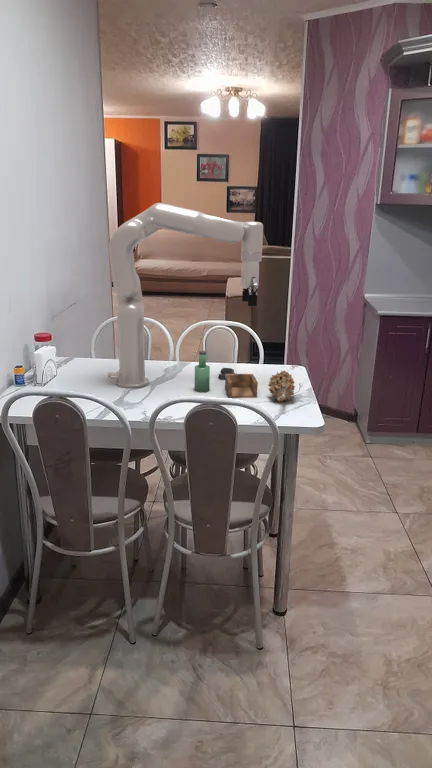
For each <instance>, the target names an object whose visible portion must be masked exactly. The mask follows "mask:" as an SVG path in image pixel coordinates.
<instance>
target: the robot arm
mask: <svg viewBox="0 0 432 768" xmlns="http://www.w3.org/2000/svg"><path fill="white" fill-rule="evenodd" d="M161 229H163V230H166V231H171V232H176V233H182V234H185V235H190V236H194V237H200V238H201V237H202V238H207V239H210V240H215V241H220V242H224V243H228V244H237V243H239V242H241V250H240V251H241V253H240V261H241V273H240V286H241V287H242V294H241V295H242V296H241V297H242V299H241V301H242V302H247V306H249V307H257V306H258V288H259V283H260V281H259V280H260V262H262V259H263V258H262V257H263V241H264V240H263V239H264V238H263V237H264V236H263V235H264V224H263V223H262V222H260V221H245V222H244V221H236V220H231V219H227V218H222V217H218V216H215V215H211V214H206V213H204V212H202V211H198V210H196V209H190V208H186V207H182V206H176V205H174V204H173V205H172V204H167V203H164V202H157V203H156V202H155V203H154V204H152V205H150V206H149V207H148V208H147V209H145V210H144V211H142V212H141V213H139V214H136V216H134V217H132V218H130V219H128V220H127V221H125V222H124V223H122V224H121V225H120V226H118V227H117V228H116V229H115V230H114V232H113V233H112V235H111V237H110V240H109V242H108V243H109V245H108V254H109V261H110V269H111V276H112V285H113V289H114V291H115V293H116V299H117V303H118V309H117V313H116V314H117V315H116V323H117V336H118V338H117V342H118V362H119V363H118V365H119V370H118V371H116V372H107V378H108V379H109V378H110V379H111V380H114V379H115V384H116V386H119V387H121V388H127V389H128V388H129V389H130V388H131V389H132V388H133V389H134V388H141V387H145V386H148V385H149V383H150V379H149V378H148V377H147V376H146V371H145V370H146V368H145V366H146V365H145V363H146V362H145V356H146V355H145V326H144V325H145V306H144V299H143V292H142V285H141V280H140V276H139V275H138V273H137V270H136V263H135V257H134V249H135V246H137V245H139V244H140V243H142V242H143V240H145V239H147V238H148V237H150V236H152V235H153V234H154V233H157V232H158V231H159V230H161Z"/></svg>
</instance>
